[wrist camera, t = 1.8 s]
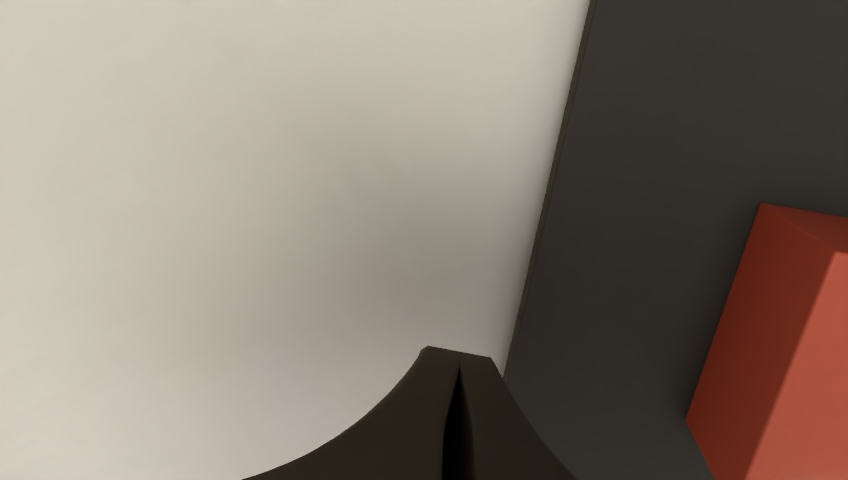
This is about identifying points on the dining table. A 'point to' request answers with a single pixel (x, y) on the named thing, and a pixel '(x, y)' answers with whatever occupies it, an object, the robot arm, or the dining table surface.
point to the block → (780, 356)
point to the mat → (667, 213)
